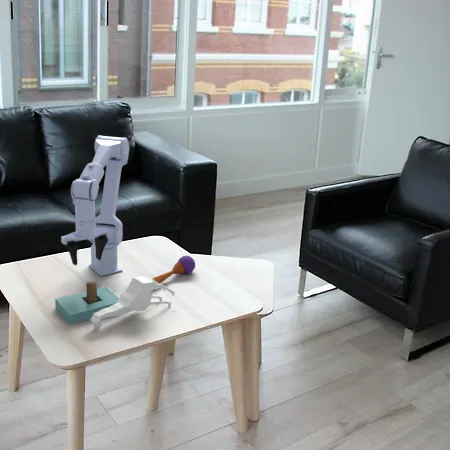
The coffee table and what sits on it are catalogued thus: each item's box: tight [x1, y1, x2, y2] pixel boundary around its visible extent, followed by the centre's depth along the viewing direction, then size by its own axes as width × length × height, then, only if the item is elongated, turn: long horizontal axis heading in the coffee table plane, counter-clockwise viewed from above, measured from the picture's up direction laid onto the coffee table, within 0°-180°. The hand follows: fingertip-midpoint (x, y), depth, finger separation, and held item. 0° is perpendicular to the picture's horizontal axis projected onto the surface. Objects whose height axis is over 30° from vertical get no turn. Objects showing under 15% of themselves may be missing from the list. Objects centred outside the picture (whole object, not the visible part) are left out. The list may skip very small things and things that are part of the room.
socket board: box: [54, 286, 120, 325], centre depth 184 cm, size 11×16×3 cm
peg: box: [85, 281, 98, 304], centre depth 184 cm, size 3×3×8 cm
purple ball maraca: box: [151, 255, 196, 284], centre depth 205 cm, size 6×6×20 cm
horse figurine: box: [90, 275, 176, 331], centre depth 181 cm, size 5×16×25 cm
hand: (86, 261), depth 191 cm, fingers open, 7 cm apart
